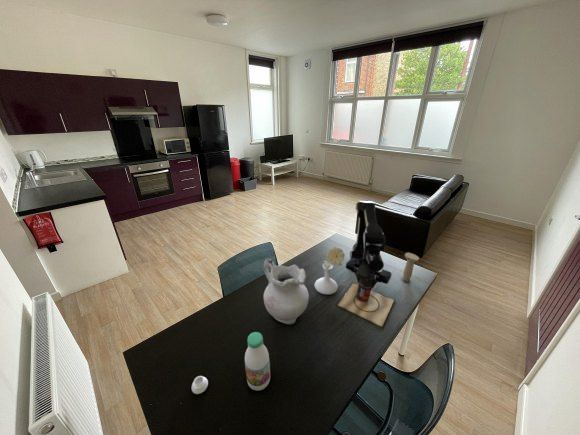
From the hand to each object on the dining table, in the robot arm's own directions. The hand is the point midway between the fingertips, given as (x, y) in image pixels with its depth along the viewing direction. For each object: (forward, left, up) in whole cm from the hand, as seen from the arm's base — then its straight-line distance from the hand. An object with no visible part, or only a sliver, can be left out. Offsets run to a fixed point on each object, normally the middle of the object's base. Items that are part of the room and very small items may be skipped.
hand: (365, 285), depth 109 cm
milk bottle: (-15, -56, -9) cm, 58 cm away
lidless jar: (-29, -69, -9) cm, 75 cm away
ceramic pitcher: (-26, -28, -9) cm, 39 cm away
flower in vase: (-17, -4, -9) cm, 19 cm away
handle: (+13, +26, -9) cm, 31 cm away
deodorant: (-1, 0, -8) cm, 8 cm away
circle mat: (+2, -2, -9) cm, 9 cm away
